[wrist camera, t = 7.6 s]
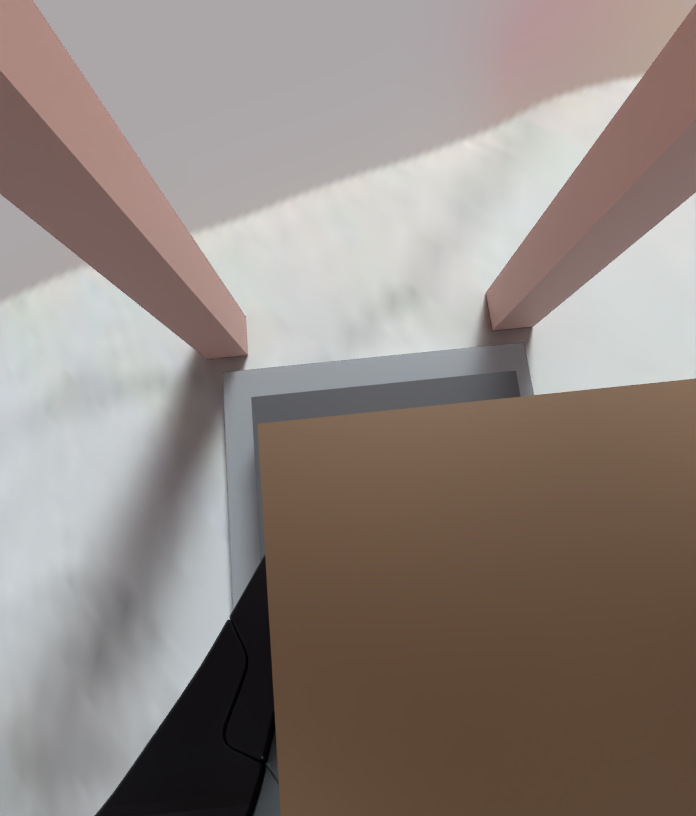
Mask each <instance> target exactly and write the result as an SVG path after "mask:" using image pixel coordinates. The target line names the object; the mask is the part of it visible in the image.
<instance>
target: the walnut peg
mask: <svg viewBox="0 0 696 816" xmlns="http://www.w3.org/2000/svg"><path fill="white" fill-rule="evenodd" d="M257 425H258V442H259V458H260V475H261V492H262V509H263V526H264V543H265V559H266V576H267V593H268V610H269V627H270V643H271V660H272V677H273V694H274V711H275V727H276V744H277V761H278V778H279V795H280V811H281V816H696V379H689V380H679V381H669V382H659V383H650V384H640V385H630V386H620V387H611V388H601V389H591V390H581V391H572V392H562V393H552V394H542V395H533V396H523V397H513V398H503V399H494V400H484V401H474V402H464V403H455V404H445V405H435V406H425V407H416V408H406V409H396V410H386V411H377V412H367V413H357V414H348V415H338V416H328V417H318V418H309V419H299V420H289V421H279V422H270V423H260V424H257Z"/></svg>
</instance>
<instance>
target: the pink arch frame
mask: <svg viewBox="0 0 696 816" xmlns="http://www.w3.org/2000/svg"><path fill="white" fill-rule="evenodd" d="M695 192H696V5H695V6H694V7H693V9H692V10H691V11H690V13H689V14H688V15H687V17H686V18H685V20H684V21H683V22H682V24H681V25H680V26H679V28H678V29H677V31H676V32H675V33H674V35H673V36H672V37H671V39H670V40H669V42H668V43H667V44H666V46H665V47H664V48H663V50H662V51H661V53H660V54H659V55H658V57H657V58H656V59H655V61H654V62H653V64H652V65H651V66H650V68H649V69H648V70H647V72H646V73H645V75H644V76H643V77H642V79H641V80H640V81H639V83H638V84H637V86H636V87H635V88H634V90H633V91H632V92H631V94H630V95H629V97H628V98H627V99H626V101H625V102H624V103H623V105H622V106H621V108H620V109H619V110H618V112H617V113H616V114H615V116H614V117H613V119H612V120H611V121H610V123H609V124H608V125H607V127H606V128H605V130H604V131H603V132H602V134H601V135H600V136H599V138H598V139H597V141H596V142H595V143H594V145H593V146H592V147H591V149H590V150H589V152H588V153H587V154H586V156H585V157H584V158H583V160H582V161H581V163H580V164H579V165H578V167H577V168H576V169H575V171H574V172H573V174H572V175H571V176H570V178H569V179H568V180H567V182H566V183H565V185H564V186H563V187H562V189H561V190H560V191H559V193H558V194H557V196H556V197H555V198H554V200H553V201H552V202H551V204H550V205H549V207H548V208H547V209H546V211H545V212H544V213H543V215H542V216H541V218H540V219H539V220H538V222H537V223H536V224H535V226H534V227H533V229H532V230H531V231H530V233H529V234H528V235H527V237H526V238H525V240H524V241H523V242H522V244H521V245H520V246H519V248H518V249H517V251H516V252H515V253H514V255H513V256H512V257H511V259H510V260H509V262H508V263H507V264H506V266H505V267H504V268H503V270H502V271H501V273H500V274H499V275H498V277H497V278H496V279H495V281H494V282H493V284H492V285H491V286H490V288H489V289H488V290H487V292H486V296H487V302H488V307H489V313H490V319H491V324H492V330H503V329H513V328H523V327H533V326H534V325H536V324H537V323H538V322H539V321H540V320H542V319H543V318H544V317H545V316H547V315H548V314H549V313H550V312H551V311H553V310H554V309H555V308H556V307H557V306H559V305H560V304H561V303H562V302H563V301H565V300H566V299H567V298H568V297H569V296H571V295H572V294H573V293H574V292H576V291H577V290H578V289H579V288H580V287H582V286H583V285H584V284H585V283H586V282H588V281H589V280H590V279H591V278H592V277H594V276H595V275H596V274H597V273H599V272H600V271H601V270H602V269H603V268H605V267H606V266H607V265H608V264H609V263H611V262H612V261H613V260H614V259H615V258H617V257H618V256H619V255H620V254H622V253H623V252H624V251H625V250H626V249H628V248H629V247H630V246H631V245H632V244H634V243H635V242H636V241H637V240H638V239H640V238H641V237H642V236H643V235H644V234H646V233H647V232H648V231H649V230H651V229H652V228H653V227H654V226H655V225H657V224H658V223H659V222H660V221H661V220H663V219H664V218H665V217H666V216H667V215H669V214H670V213H671V212H672V211H674V210H675V209H676V208H677V207H678V206H680V205H681V204H682V203H683V202H684V201H686V200H687V199H688V198H689V197H690V196H692V195H693V194H694V193H695ZM0 194H1V195H2V196H4V197H5V198H6V199H7V200H9V201H10V202H11V203H12V204H14V205H15V206H16V207H17V208H19V209H20V210H21V211H22V212H24V213H25V214H26V215H27V216H29V217H30V218H31V219H32V220H34V221H35V222H36V223H37V224H39V225H40V226H41V227H42V228H44V229H45V230H46V231H47V232H49V233H50V234H51V235H52V236H54V237H55V238H56V239H58V240H59V241H60V242H61V243H62V244H64V245H65V246H66V247H67V248H69V249H70V250H71V251H73V252H74V253H75V254H76V255H78V256H79V257H80V258H81V259H82V260H84V261H85V262H86V263H87V264H89V265H90V266H91V267H92V268H94V269H95V270H96V271H97V272H99V273H100V274H101V275H102V276H104V277H105V278H106V279H107V280H109V281H110V282H111V283H112V284H114V285H115V286H116V287H117V288H119V289H120V290H121V291H122V292H124V293H125V294H126V295H127V296H129V297H130V298H131V299H132V300H134V301H135V302H136V303H137V304H139V305H140V306H141V307H142V308H144V309H145V310H146V311H147V312H149V313H150V314H151V315H152V316H154V317H155V318H156V319H157V320H159V321H160V322H161V323H162V324H164V325H165V326H166V327H167V328H169V329H170V330H171V331H172V332H174V333H175V334H176V335H177V336H179V337H180V338H181V339H182V340H184V341H185V342H186V343H187V344H189V345H190V346H191V347H193V348H194V349H195V350H196V351H198V352H199V353H200V354H201V355H203V356H204V357H205V358H206V359H212V358H222V357H232V356H242V355H248V349H247V331H246V316H245V315H244V313H243V312H242V310H241V309H240V307H239V306H238V304H237V303H236V301H235V300H234V298H233V297H232V295H231V294H230V292H229V291H228V289H227V288H226V286H225V285H224V283H223V282H222V280H221V279H220V277H219V276H218V275H217V273H216V272H215V270H214V269H213V267H212V266H211V264H210V263H209V261H208V260H207V258H206V257H205V255H204V254H203V252H202V251H201V249H200V248H199V246H198V245H197V243H196V242H195V240H194V239H193V237H192V236H191V234H190V233H189V231H188V230H187V228H186V227H185V225H184V224H183V223H182V221H181V220H180V218H179V217H178V215H177V214H176V212H175V211H174V209H173V208H172V206H171V205H170V203H169V202H168V200H167V199H166V197H165V196H164V194H163V193H162V191H161V190H160V188H159V187H158V185H157V184H156V183H155V181H154V179H153V178H152V177H151V175H150V173H149V172H148V170H147V169H146V168H145V166H144V165H143V163H142V162H141V160H140V159H139V157H138V156H137V154H136V153H135V151H134V150H133V148H132V147H131V145H130V144H129V142H128V141H127V139H126V138H125V136H124V135H123V133H122V132H121V130H120V129H119V128H118V126H117V124H116V123H115V121H114V120H113V119H112V117H111V116H110V114H109V113H108V111H107V110H106V108H105V107H104V105H103V104H102V102H101V101H100V99H99V98H98V96H97V95H96V94H95V92H94V90H93V89H92V87H91V86H90V84H89V83H88V81H87V80H86V78H85V77H84V75H83V74H82V72H81V71H80V69H79V68H78V66H77V65H76V64H75V62H74V61H73V59H72V58H71V56H70V55H69V53H68V52H67V50H66V49H65V47H64V46H63V44H62V43H61V41H60V40H59V38H58V37H57V35H56V34H55V33H54V31H53V29H52V28H51V26H50V25H49V23H48V22H47V20H46V19H45V17H44V16H43V14H42V13H41V11H40V10H39V9H38V7H37V6H36V4H35V3H34V1H33V0H0Z"/></svg>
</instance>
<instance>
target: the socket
mask: <svg viewBox="0 0 696 816" xmlns="http://www.w3.org/2000/svg"><path fill="white" fill-rule="evenodd" d="M223 391H224V415H225V438H226V461H227V484H228V507H229V531H230V554H231V577H232V600H233V609H234V608H235V606H236V604H237V602H238V600H239V599H240V597H241V595H242V593H243V592H244V590H245V588H246V586H247V585H248V583H249V581H250V579H251V577H252V576H253V574H254V572H255V570H256V569H257V567H258V565H259V563H260V561H261V560H262V558H263V556H264V554H265V543H264V526H263V509H262V492H261V475H260V458H259V442H258V425H257V424H260V423H270V422H279V421H289V420H299V419H309V418H318V417H328V416H338V415H348V414H357V413H367V412H377V411H386V410H396V409H406V408H416V407H425V406H435V405H445V404H455V403H464V402H474V401H484V400H494V399H503V398H513V397H523V396H533V395H534V393H533V388H532V383H531V377H530V372H529V367H528V362H527V356H526V351H525V346H524V342H522V343H512V344H502V345H492V346H482V347H472V348H462V349H452V350H442V351H432V352H422V353H412V354H402V355H392V356H381V357H371V358H361V359H351V360H341V361H331V362H321V363H311V364H301V365H291V366H281V367H271V368H261V369H251V370H241V371H231V372H223Z"/></svg>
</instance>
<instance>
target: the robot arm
mask: <svg viewBox="0 0 696 816" xmlns="http://www.w3.org/2000/svg"><path fill="white" fill-rule="evenodd" d="M95 816H281V811H280V795H279V778H278V761H277V744H276V727H275V711H274V694H273V677H272V660H271V643H270V627H269V610H268V593H267V576H266V559H265V554H264V556H263V558H262V560H261V561H260V563H259V565H258V567H257V569H256V570H255V572H254V574H253V576H252V577H251V579H250V581H249V583H248V585H247V586H246V588H245V590H244V592H243V593H242V595H241V597H240V599H239V600H238V602H237V604H236V606H235V608H234V609H233V611H232V613H231V615H230V620H227V621H226V623H225V625H224V627H223V628H222V630H221V632H220V634H219V636H218V637H217V639H216V641H215V642H214V644H213V646H212V648H211V649H210V651H209V653H208V654H207V656H206V658H205V659H204V661H203V663H202V664H201V666H200V667H199V669H198V670H197V672H196V673H195V675H194V677H193V678H192V680H191V681H190V683H189V684H188V686H187V687H186V689H185V690H184V692H183V693H182V695H181V696H180V698H179V699H178V700H177V702H176V703H175V705H174V706H173V708H172V709H171V711H170V712H169V713H168V715H167V716H166V718H165V719H164V721H163V722H162V724H161V725H160V726H159V728H158V729H157V731H156V732H155V734H154V735H153V737H152V738H151V739H150V741H149V742H148V744H147V745H146V747H145V748H144V750H143V751H142V752H141V754H140V755H139V757H138V758H137V760H136V761H135V763H134V764H133V765H132V767H131V768H130V770H129V771H128V773H127V774H126V776H125V777H124V778H123V780H122V781H121V783H120V784H119V785H118V787H117V788H116V790H115V791H114V792H113V794H112V795H111V796H110V797H109V799H108V800H107V801H106V803H105V804H104V805H103V806H102V808H101V809H100V810H99V811H98V812H97V813H96V815H95Z"/></svg>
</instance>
